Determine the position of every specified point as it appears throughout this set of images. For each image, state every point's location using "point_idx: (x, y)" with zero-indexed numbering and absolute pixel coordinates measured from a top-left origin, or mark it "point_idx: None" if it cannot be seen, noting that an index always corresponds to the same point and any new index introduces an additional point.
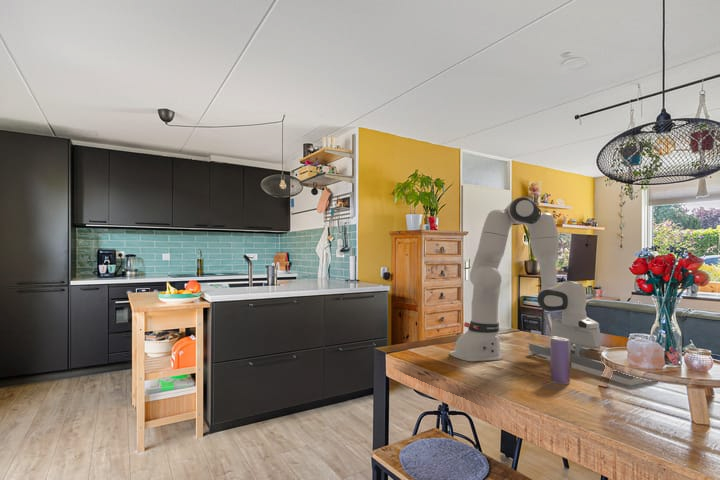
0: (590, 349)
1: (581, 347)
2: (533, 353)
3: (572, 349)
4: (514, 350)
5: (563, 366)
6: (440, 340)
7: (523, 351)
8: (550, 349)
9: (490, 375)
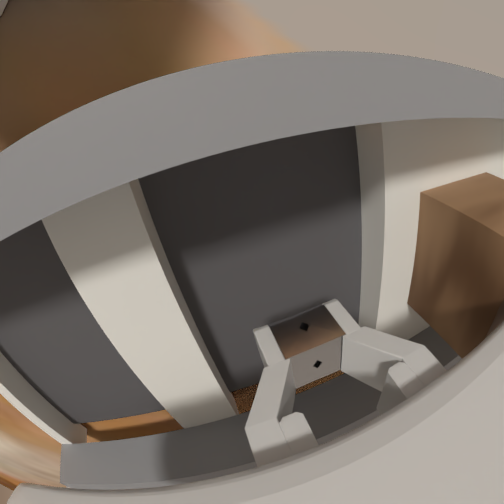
0: (499, 319)
1: (417, 344)
2: (73, 427)
3: (292, 376)
4: (11, 431)
5: None
6: (2, 482)
7: (10, 415)
8: (233, 473)
9: None
